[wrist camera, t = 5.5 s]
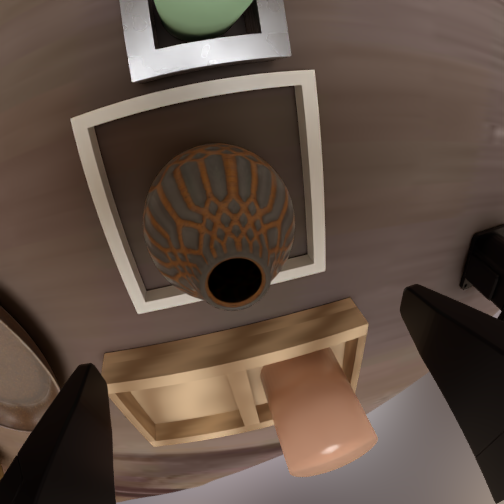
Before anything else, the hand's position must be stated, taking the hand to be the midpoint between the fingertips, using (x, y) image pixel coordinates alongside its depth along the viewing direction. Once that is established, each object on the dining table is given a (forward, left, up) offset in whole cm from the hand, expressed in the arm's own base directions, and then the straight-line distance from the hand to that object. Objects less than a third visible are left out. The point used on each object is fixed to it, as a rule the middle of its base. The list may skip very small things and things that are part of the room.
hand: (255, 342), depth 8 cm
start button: (-1, -11, -11) cm, 15 cm away
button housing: (-1, -11, -11) cm, 16 cm away
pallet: (+1, +16, -11) cm, 20 cm away
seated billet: (-4, +16, -10) cm, 19 cm away
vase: (0, 0, -12) cm, 12 cm away
